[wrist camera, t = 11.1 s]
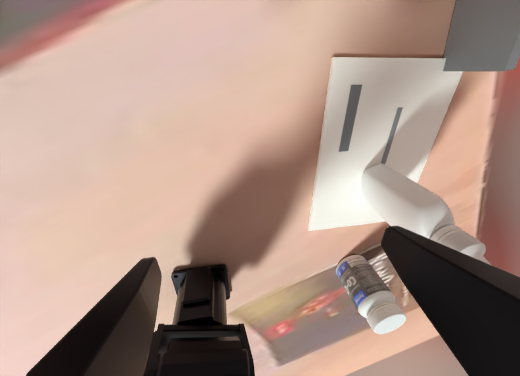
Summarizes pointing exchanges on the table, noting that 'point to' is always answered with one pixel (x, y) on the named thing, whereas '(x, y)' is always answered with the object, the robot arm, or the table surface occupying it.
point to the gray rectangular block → (483, 36)
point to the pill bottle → (370, 294)
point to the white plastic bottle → (415, 209)
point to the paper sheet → (375, 129)
